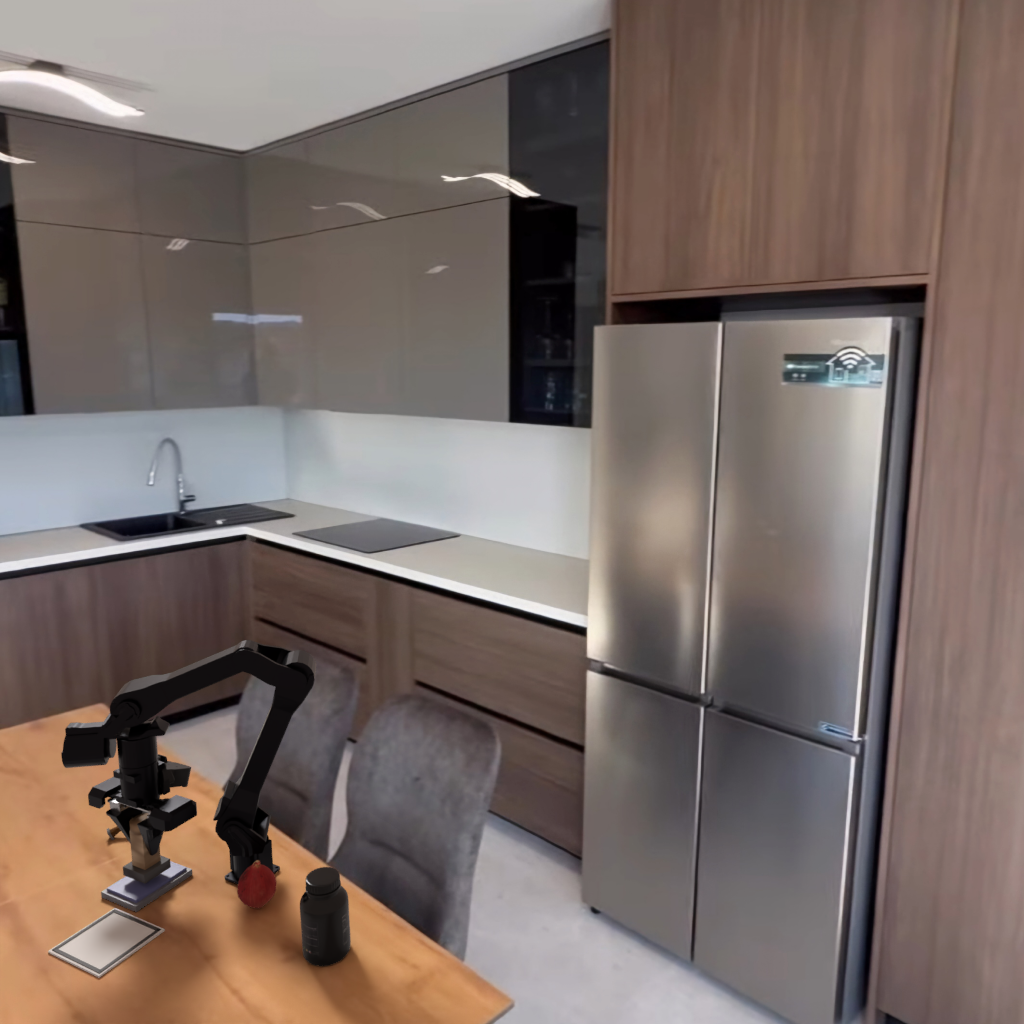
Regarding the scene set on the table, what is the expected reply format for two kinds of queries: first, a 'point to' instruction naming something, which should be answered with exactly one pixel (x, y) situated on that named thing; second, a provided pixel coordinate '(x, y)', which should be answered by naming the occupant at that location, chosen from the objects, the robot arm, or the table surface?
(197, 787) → the table surface
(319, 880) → the supplement bottle
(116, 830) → the wooden post with brackets
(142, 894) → the ink pad
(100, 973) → the marked card
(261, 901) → the onion
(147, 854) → the stamp
